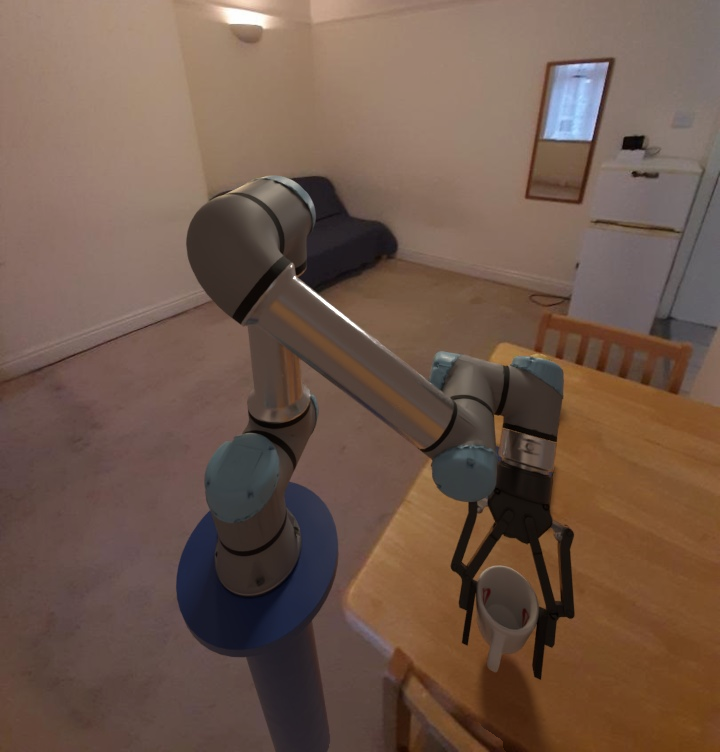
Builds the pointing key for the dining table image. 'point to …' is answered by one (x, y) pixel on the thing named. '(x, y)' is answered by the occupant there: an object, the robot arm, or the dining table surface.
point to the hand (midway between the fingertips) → (499, 655)
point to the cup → (505, 611)
